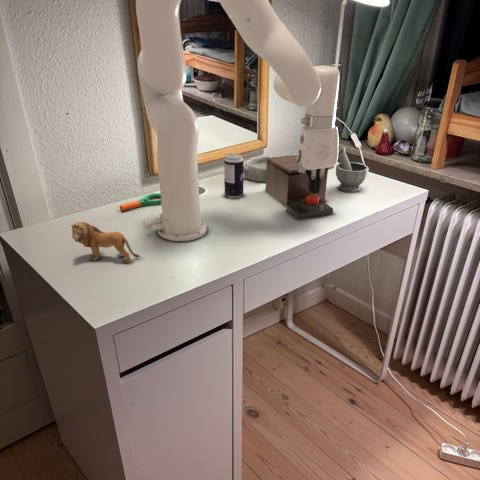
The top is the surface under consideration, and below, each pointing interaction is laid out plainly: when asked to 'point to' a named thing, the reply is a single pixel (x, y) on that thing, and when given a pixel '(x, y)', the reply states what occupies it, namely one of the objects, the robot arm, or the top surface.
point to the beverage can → (233, 175)
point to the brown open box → (290, 185)
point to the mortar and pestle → (350, 172)
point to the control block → (309, 209)
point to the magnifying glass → (142, 202)
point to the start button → (312, 199)
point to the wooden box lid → (285, 163)
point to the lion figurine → (100, 239)
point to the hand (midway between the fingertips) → (313, 191)
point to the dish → (256, 168)
